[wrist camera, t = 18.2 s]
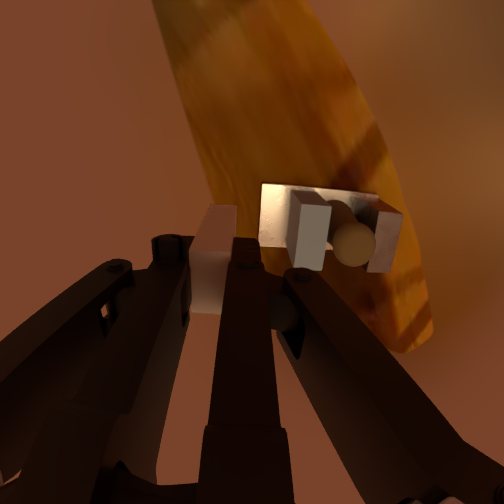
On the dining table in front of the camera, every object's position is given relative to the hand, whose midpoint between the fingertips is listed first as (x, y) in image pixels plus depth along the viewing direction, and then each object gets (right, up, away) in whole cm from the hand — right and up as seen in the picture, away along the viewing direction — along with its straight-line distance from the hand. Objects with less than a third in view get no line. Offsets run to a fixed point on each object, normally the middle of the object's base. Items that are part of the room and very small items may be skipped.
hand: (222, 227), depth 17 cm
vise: (+11, +4, +25) cm, 28 cm away
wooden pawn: (+13, +3, +24) cm, 28 cm away
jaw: (+8, +3, +24) cm, 26 cm away
